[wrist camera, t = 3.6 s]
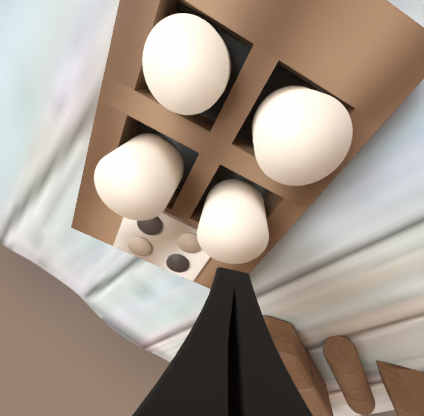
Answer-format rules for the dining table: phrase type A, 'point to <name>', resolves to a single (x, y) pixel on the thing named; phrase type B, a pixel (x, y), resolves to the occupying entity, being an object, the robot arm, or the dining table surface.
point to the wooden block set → (344, 375)
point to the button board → (244, 110)
